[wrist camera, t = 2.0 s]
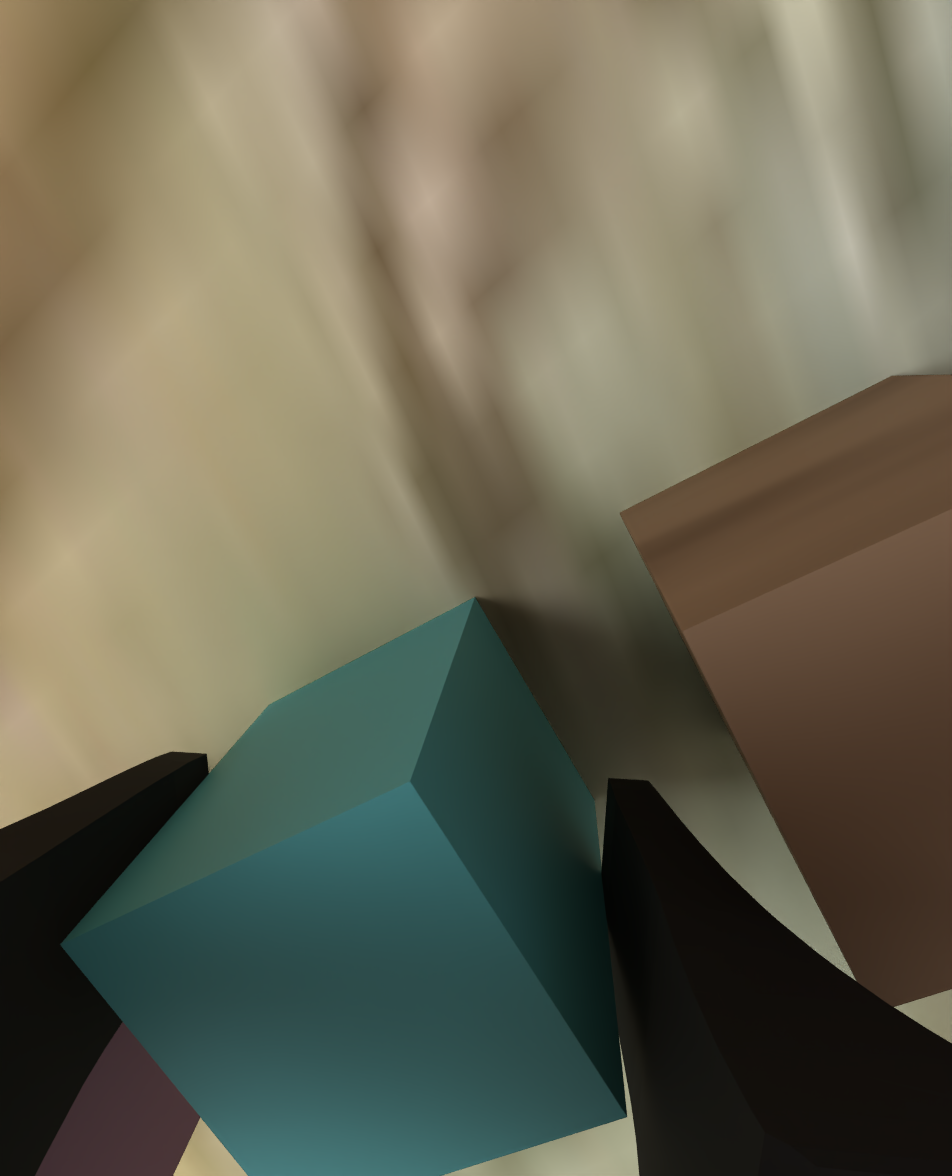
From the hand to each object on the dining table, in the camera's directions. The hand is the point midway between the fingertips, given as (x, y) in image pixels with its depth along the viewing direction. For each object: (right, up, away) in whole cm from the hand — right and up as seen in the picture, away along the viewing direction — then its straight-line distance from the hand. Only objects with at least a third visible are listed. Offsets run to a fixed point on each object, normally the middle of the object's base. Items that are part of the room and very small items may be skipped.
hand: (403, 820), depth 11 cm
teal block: (0, +1, +2) cm, 2 cm away
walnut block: (+7, +4, 0) cm, 8 cm away
